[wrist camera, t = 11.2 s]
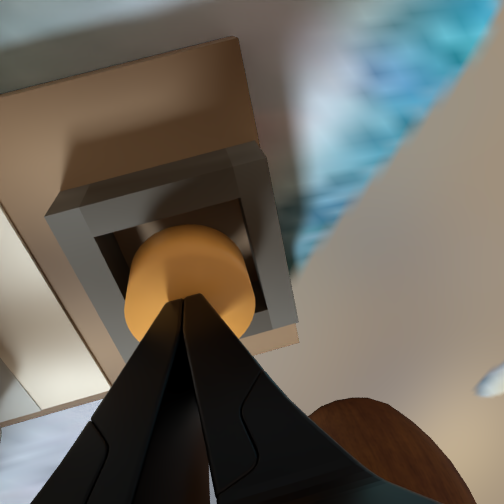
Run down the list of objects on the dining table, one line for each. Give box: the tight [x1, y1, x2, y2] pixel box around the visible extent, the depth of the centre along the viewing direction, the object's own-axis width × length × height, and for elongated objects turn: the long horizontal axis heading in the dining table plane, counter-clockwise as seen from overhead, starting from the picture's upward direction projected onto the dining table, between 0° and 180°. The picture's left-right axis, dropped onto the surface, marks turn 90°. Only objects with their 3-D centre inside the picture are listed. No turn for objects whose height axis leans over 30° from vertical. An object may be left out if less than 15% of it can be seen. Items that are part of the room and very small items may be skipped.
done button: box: [124, 224, 255, 342], centre depth 10 cm, size 3×3×2 cm
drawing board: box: [0, 36, 299, 428], centre depth 11 cm, size 10×15×2 cm, turn 102°
